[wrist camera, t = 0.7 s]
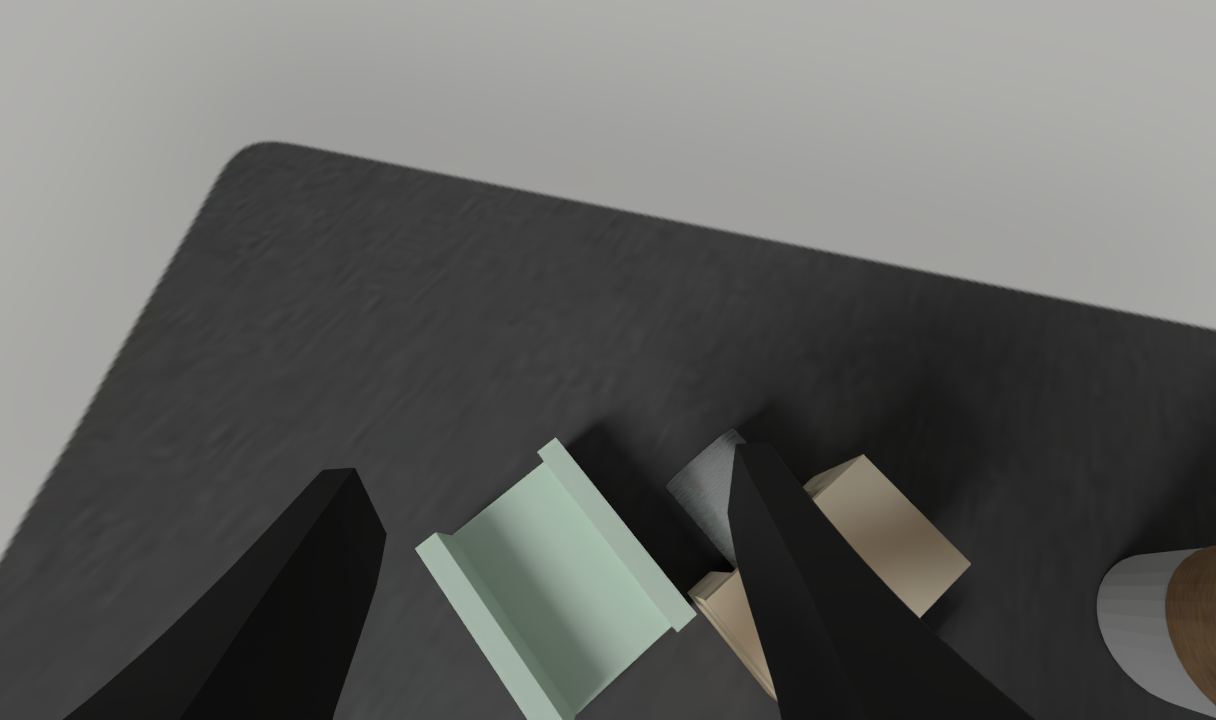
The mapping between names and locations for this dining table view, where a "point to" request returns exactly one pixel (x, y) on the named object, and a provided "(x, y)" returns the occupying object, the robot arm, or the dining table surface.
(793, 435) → the dining table surface
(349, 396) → the dining table surface
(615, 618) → the cradle
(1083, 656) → the dining table surface
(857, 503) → the wooden bridge block
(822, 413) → the dining table surface
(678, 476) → the axle
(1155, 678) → the coffee cup
